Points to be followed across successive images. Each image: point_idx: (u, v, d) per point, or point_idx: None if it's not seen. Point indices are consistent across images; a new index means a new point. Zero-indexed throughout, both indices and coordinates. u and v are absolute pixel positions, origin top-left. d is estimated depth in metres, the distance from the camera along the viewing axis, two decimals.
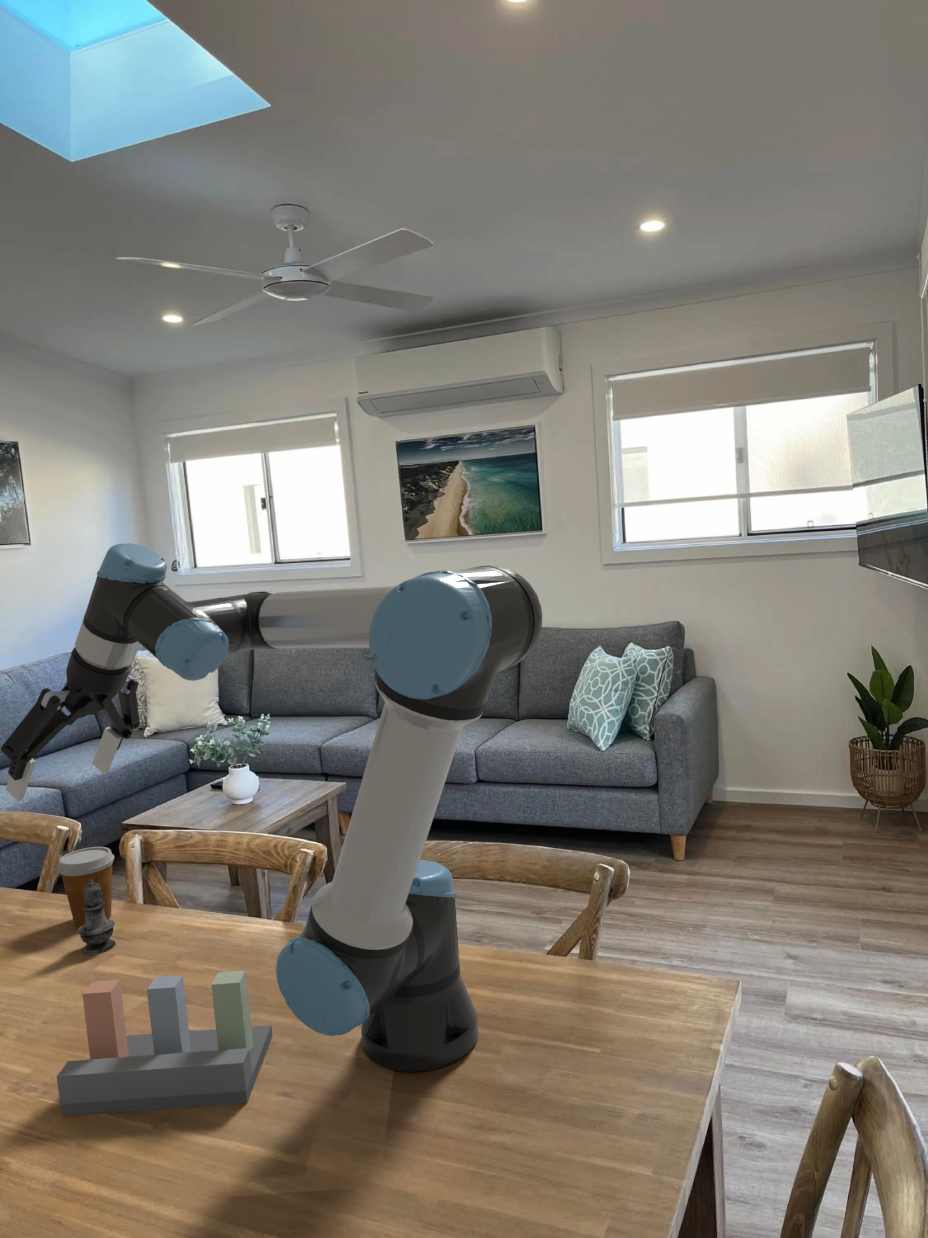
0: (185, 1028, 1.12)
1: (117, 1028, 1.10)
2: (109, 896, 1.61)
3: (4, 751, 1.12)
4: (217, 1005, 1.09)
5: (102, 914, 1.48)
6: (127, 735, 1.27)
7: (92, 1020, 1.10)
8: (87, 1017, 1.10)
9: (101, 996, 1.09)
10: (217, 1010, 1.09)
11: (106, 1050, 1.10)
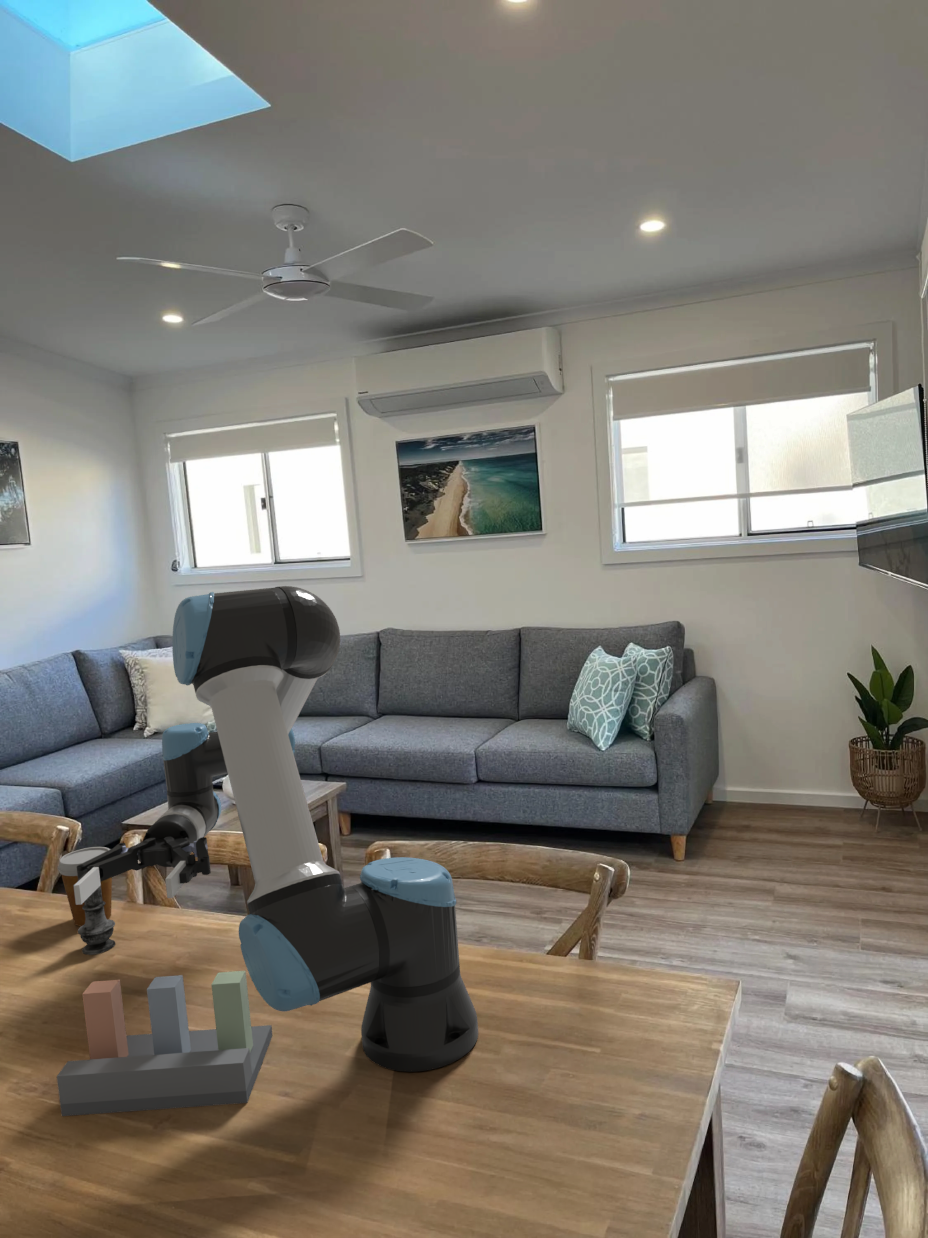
0: (185, 1028, 1.12)
1: (117, 1028, 1.10)
2: (109, 896, 1.61)
3: None
4: (217, 1005, 1.09)
5: (102, 914, 1.48)
6: None
7: (92, 1020, 1.10)
8: (87, 1017, 1.10)
9: (101, 996, 1.09)
10: (217, 1010, 1.09)
11: (106, 1050, 1.10)
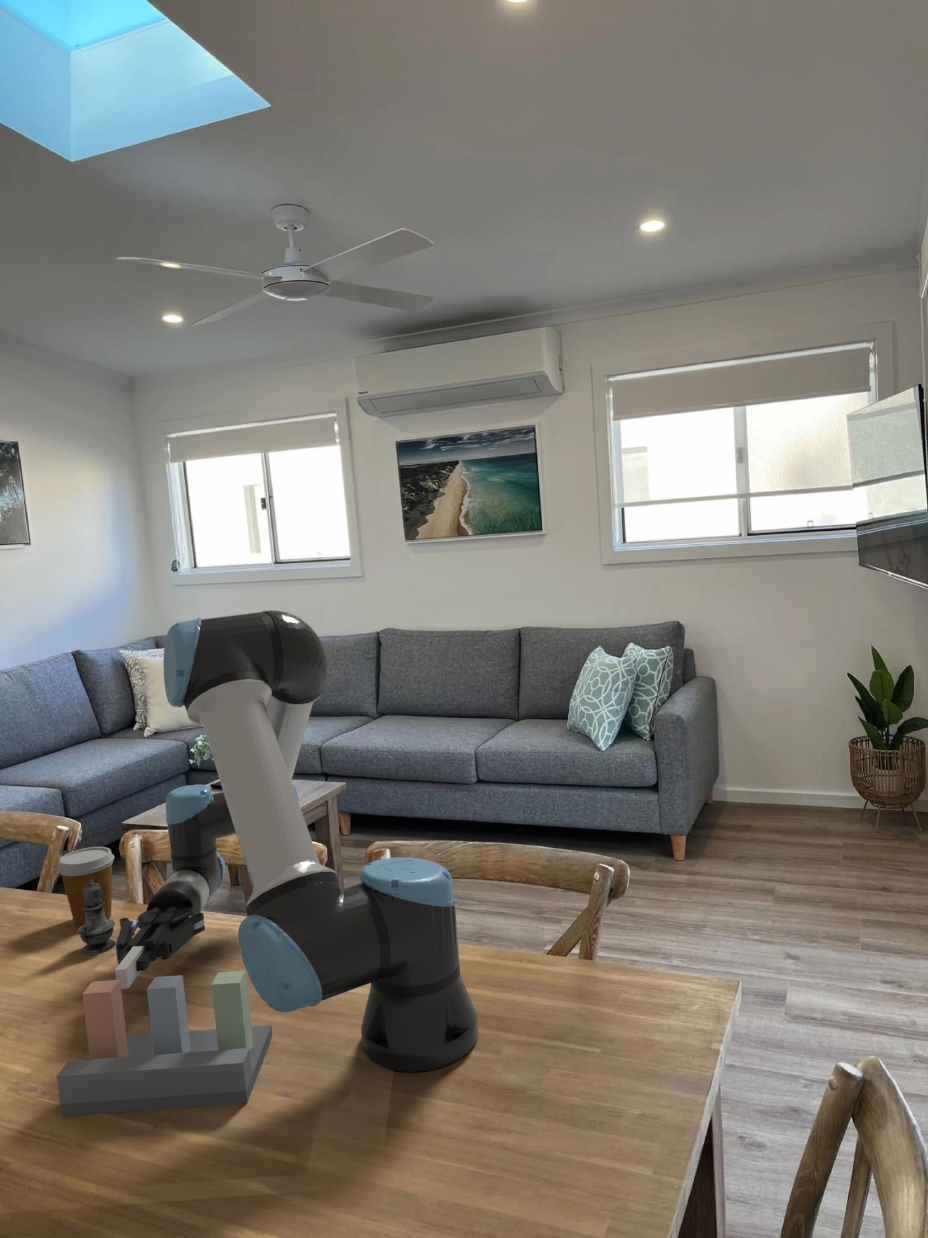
0: (185, 1028, 1.12)
1: (117, 1028, 1.10)
2: (109, 896, 1.61)
3: None
4: (217, 1005, 1.09)
5: (102, 914, 1.48)
6: None
7: (92, 1020, 1.10)
8: (87, 1017, 1.10)
9: (101, 996, 1.09)
10: (217, 1010, 1.09)
11: (106, 1050, 1.10)
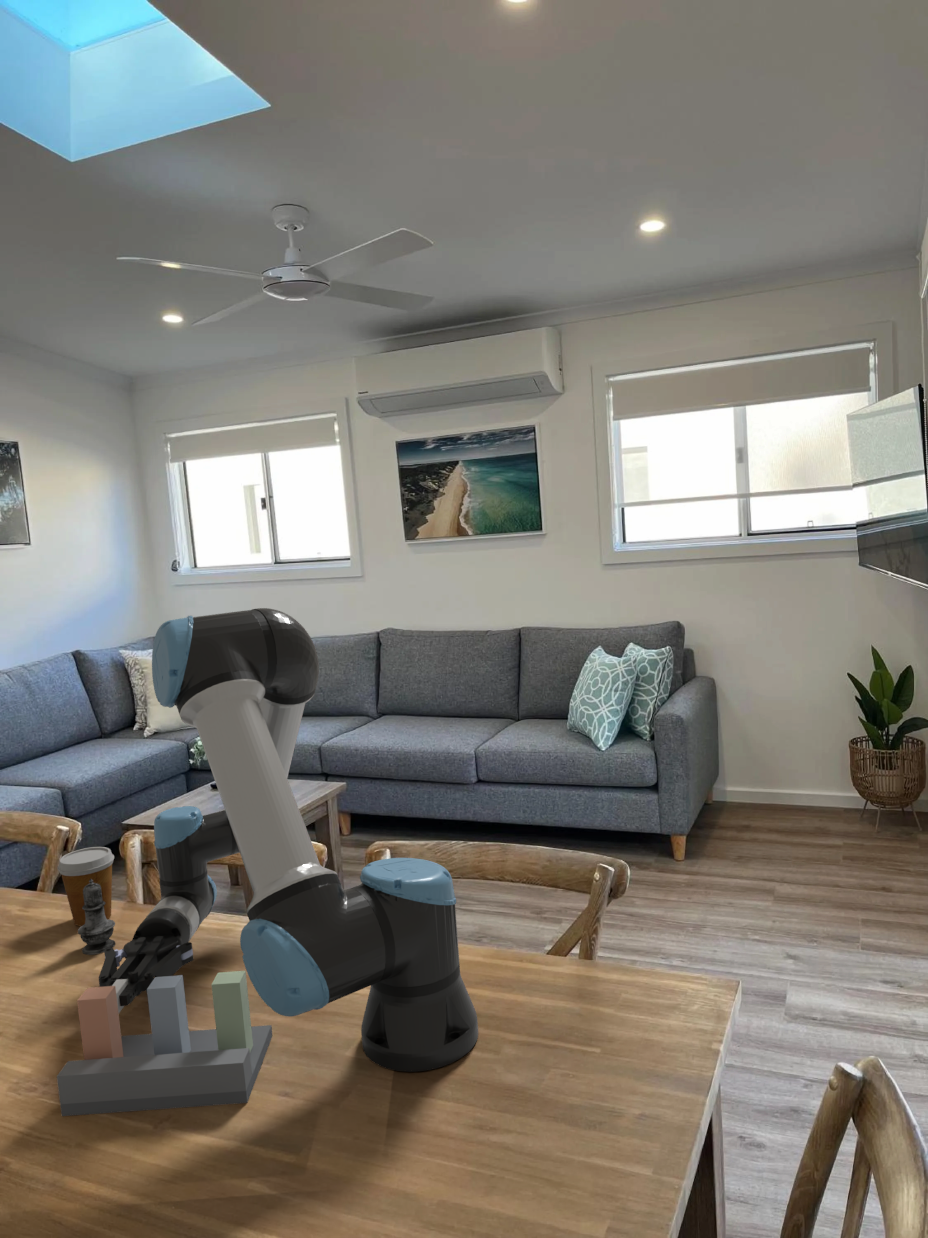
0: (185, 1028, 1.12)
1: (112, 1035, 1.09)
2: (109, 896, 1.61)
3: None
4: (217, 1005, 1.09)
5: (102, 914, 1.48)
6: None
7: (87, 1027, 1.08)
8: (82, 1023, 1.08)
9: (96, 1002, 1.08)
10: (217, 1010, 1.09)
11: (101, 1058, 1.08)
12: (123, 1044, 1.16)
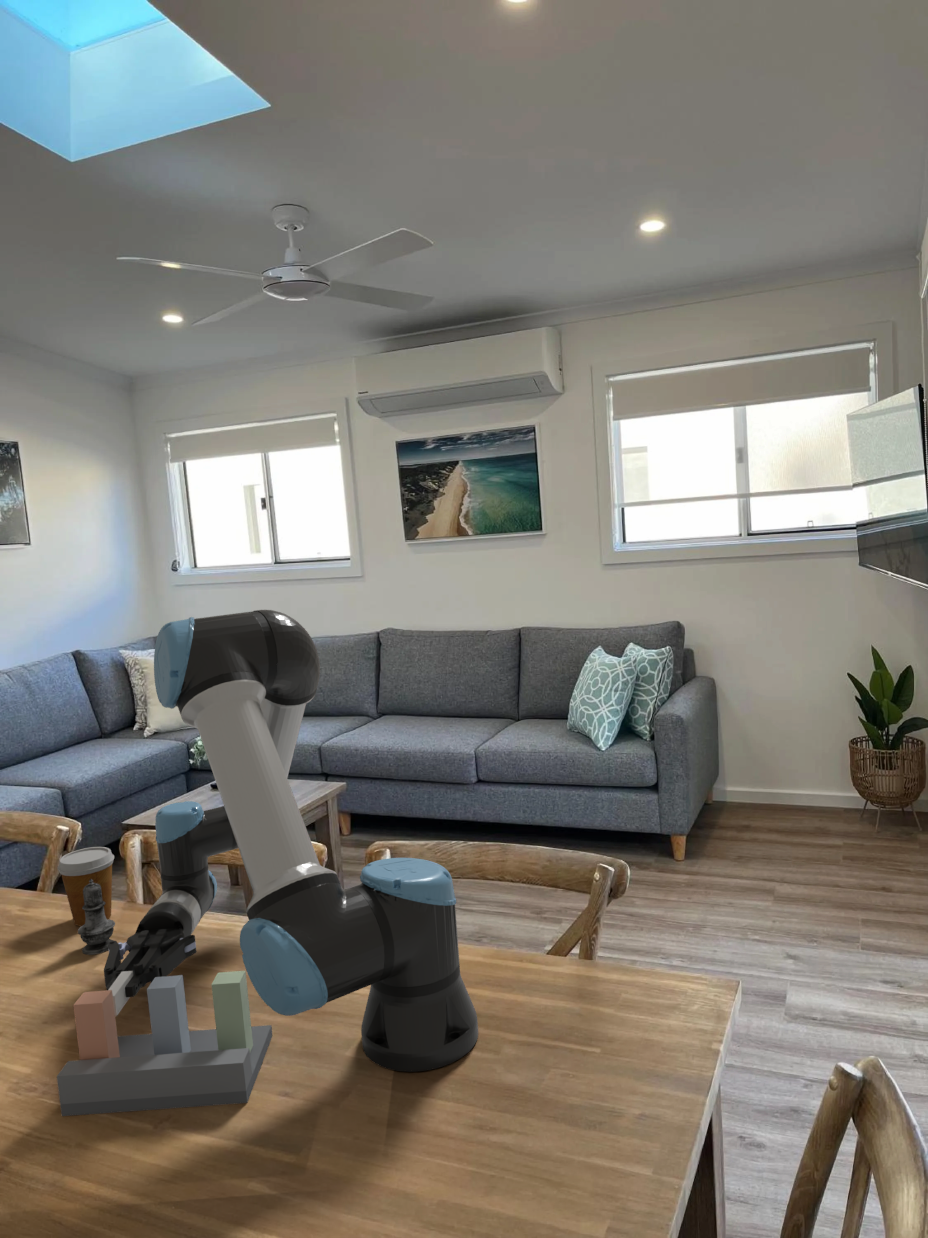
0: (185, 1028, 1.12)
1: (109, 1040, 1.08)
2: (109, 896, 1.61)
3: None
4: (217, 1005, 1.09)
5: (102, 914, 1.48)
6: None
7: (83, 1032, 1.07)
8: (78, 1028, 1.07)
9: (92, 1007, 1.07)
10: (217, 1010, 1.09)
11: None
12: (123, 1044, 1.16)
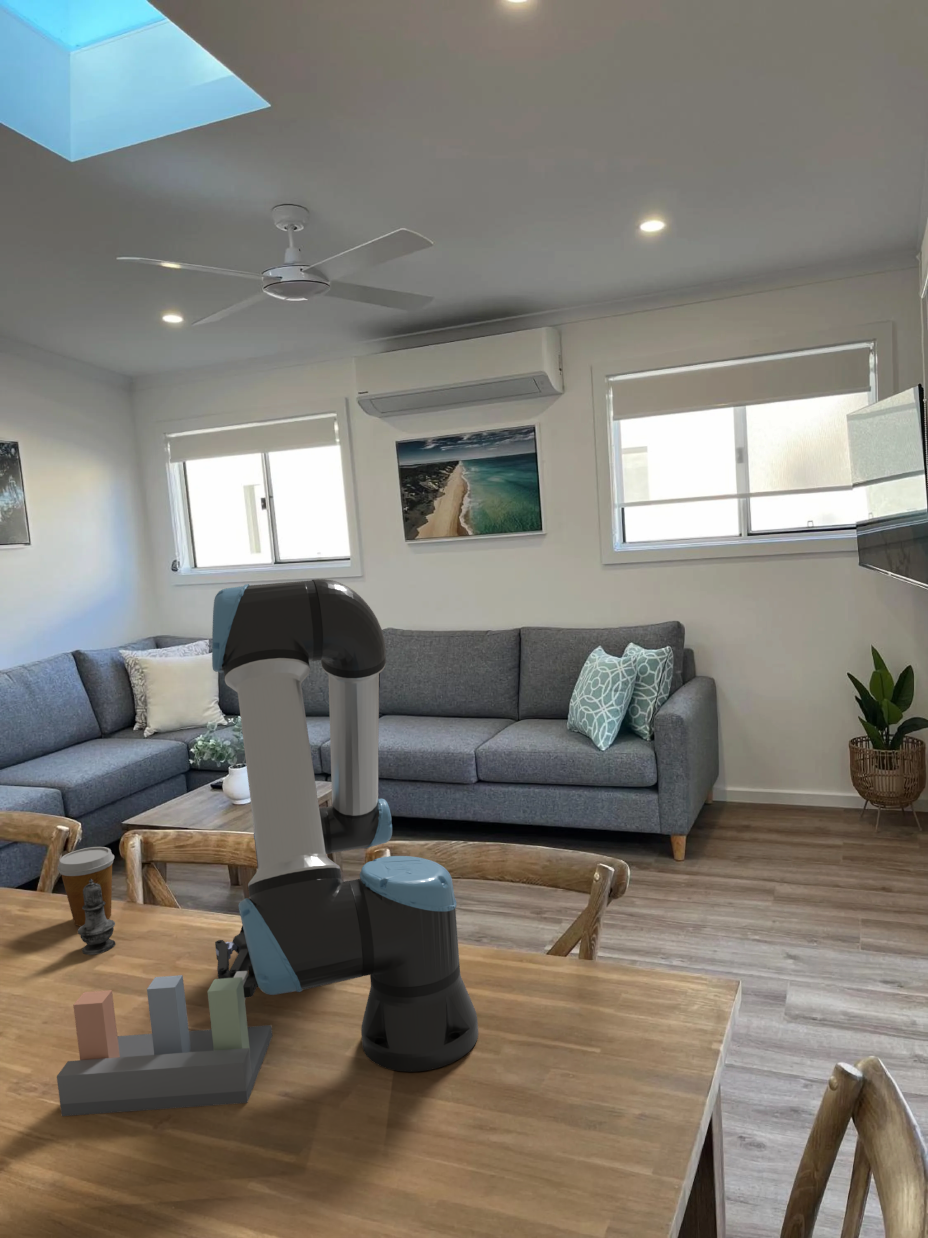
0: (185, 1028, 1.12)
1: (109, 1040, 1.08)
2: (109, 896, 1.61)
3: None
4: (213, 1012, 1.08)
5: (102, 914, 1.48)
6: (252, 964, 1.18)
7: (83, 1032, 1.07)
8: (78, 1028, 1.07)
9: (92, 1007, 1.07)
10: (213, 1017, 1.08)
11: None
12: (123, 1044, 1.16)
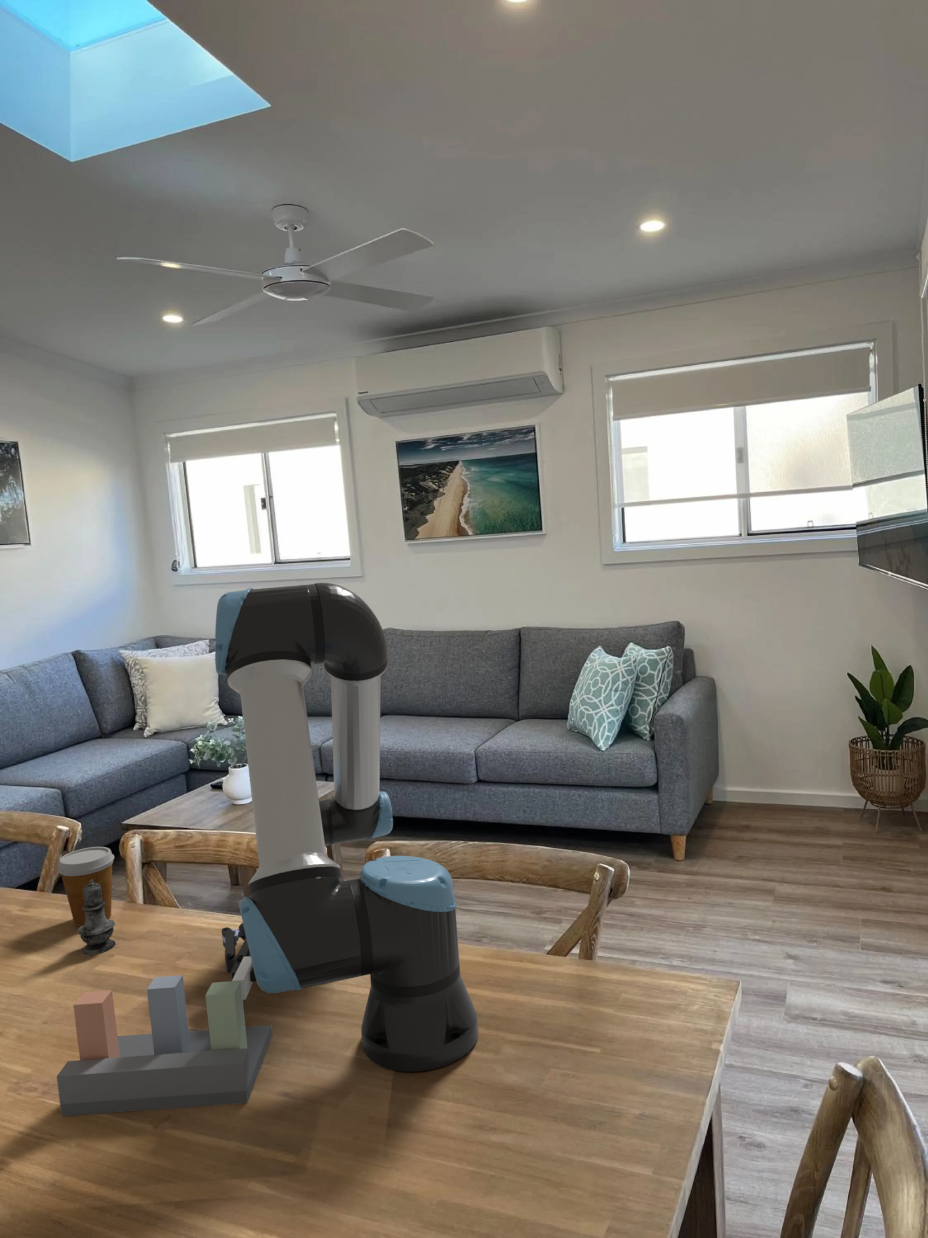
0: (185, 1028, 1.12)
1: (109, 1040, 1.08)
2: (109, 896, 1.61)
3: (226, 965, 1.23)
4: (211, 1016, 1.07)
5: (102, 914, 1.48)
6: None
7: (83, 1032, 1.07)
8: (78, 1028, 1.07)
9: (92, 1007, 1.07)
10: (211, 1021, 1.07)
11: None
12: (123, 1044, 1.16)
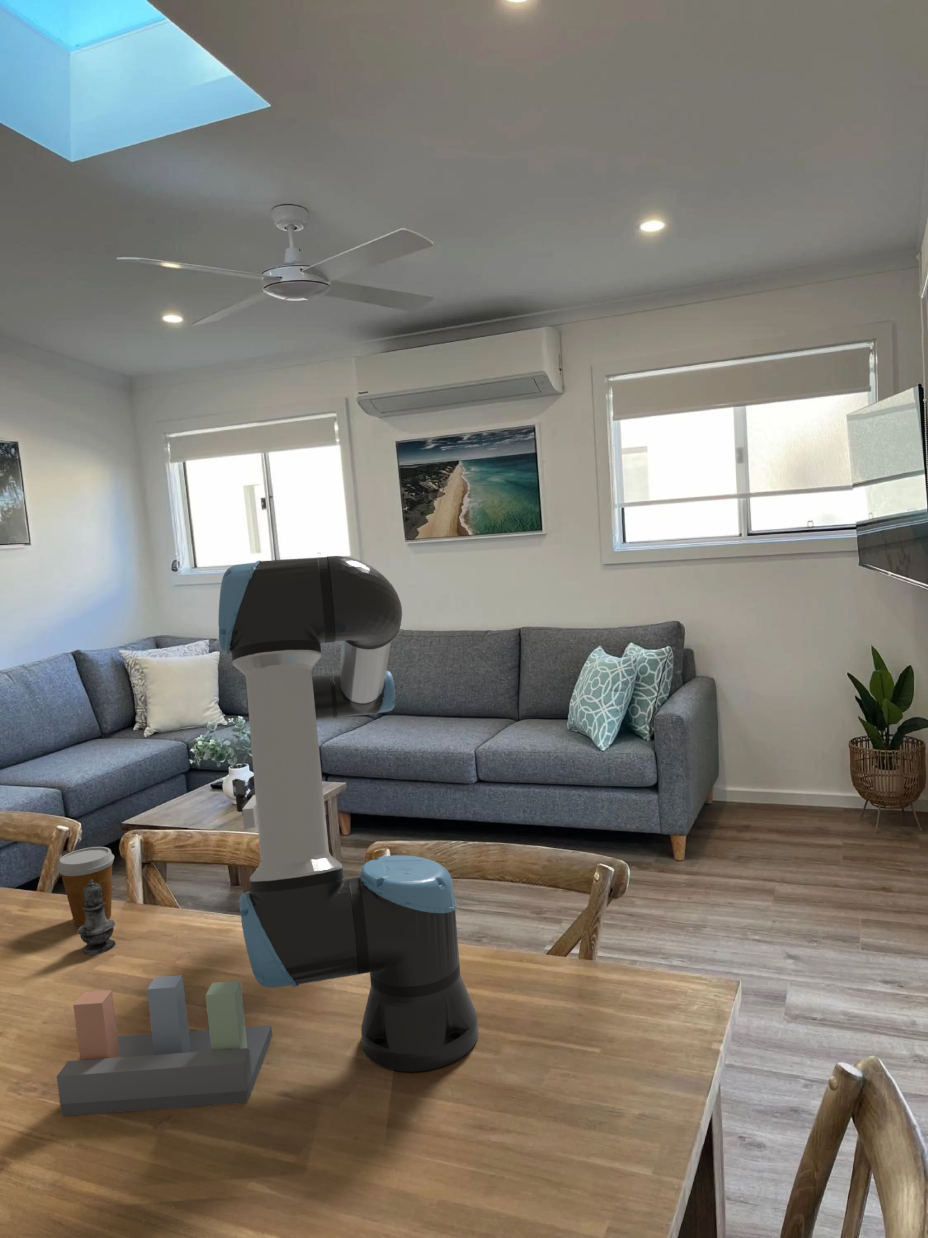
0: (185, 1028, 1.12)
1: (109, 1040, 1.08)
2: (109, 896, 1.61)
3: (236, 805, 1.30)
4: (211, 1016, 1.07)
5: (102, 914, 1.48)
6: None
7: (83, 1032, 1.07)
8: (78, 1028, 1.07)
9: (92, 1007, 1.07)
10: (211, 1021, 1.07)
11: None
12: (123, 1044, 1.16)
